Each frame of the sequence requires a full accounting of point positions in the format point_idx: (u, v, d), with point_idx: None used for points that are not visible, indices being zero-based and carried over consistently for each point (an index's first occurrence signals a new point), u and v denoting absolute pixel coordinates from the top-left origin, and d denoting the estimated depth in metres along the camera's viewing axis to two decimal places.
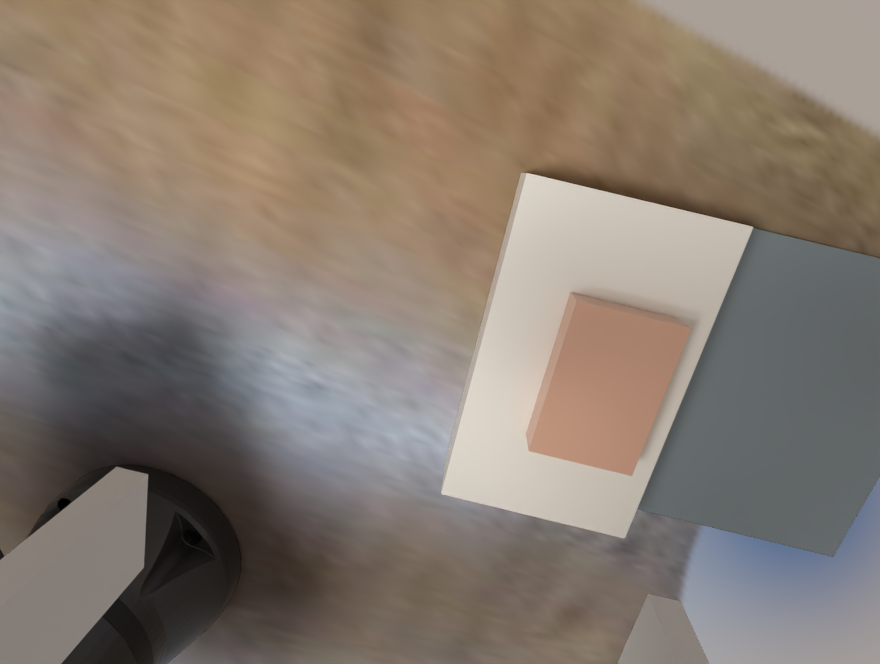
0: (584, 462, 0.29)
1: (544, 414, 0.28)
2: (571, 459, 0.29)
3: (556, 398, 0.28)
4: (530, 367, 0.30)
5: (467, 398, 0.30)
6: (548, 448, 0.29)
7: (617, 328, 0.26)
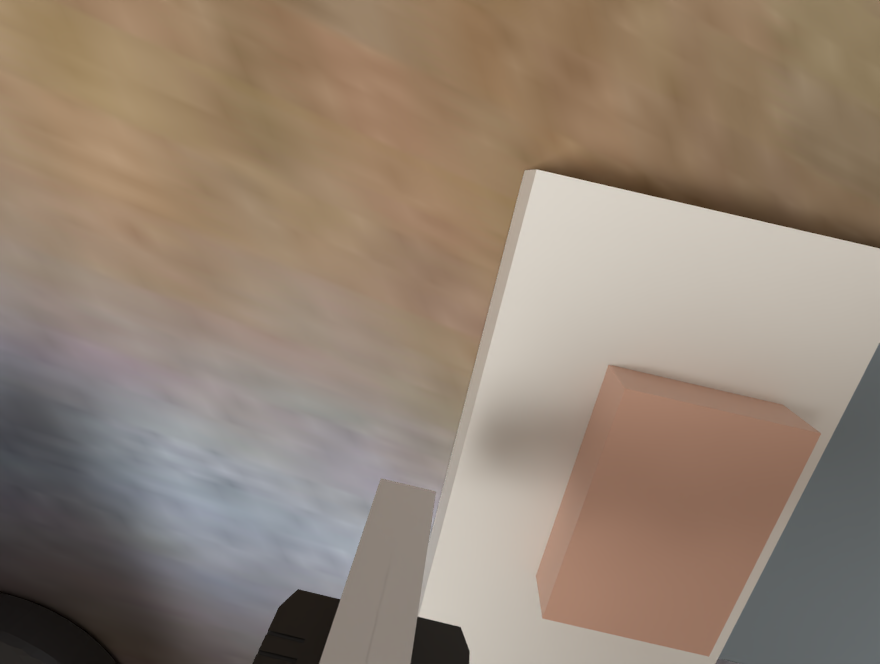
0: (632, 635, 0.18)
1: (568, 565, 0.17)
2: (611, 631, 0.18)
3: (587, 540, 0.17)
4: (543, 480, 0.19)
5: (444, 524, 0.19)
6: (574, 615, 0.18)
7: (693, 433, 0.16)
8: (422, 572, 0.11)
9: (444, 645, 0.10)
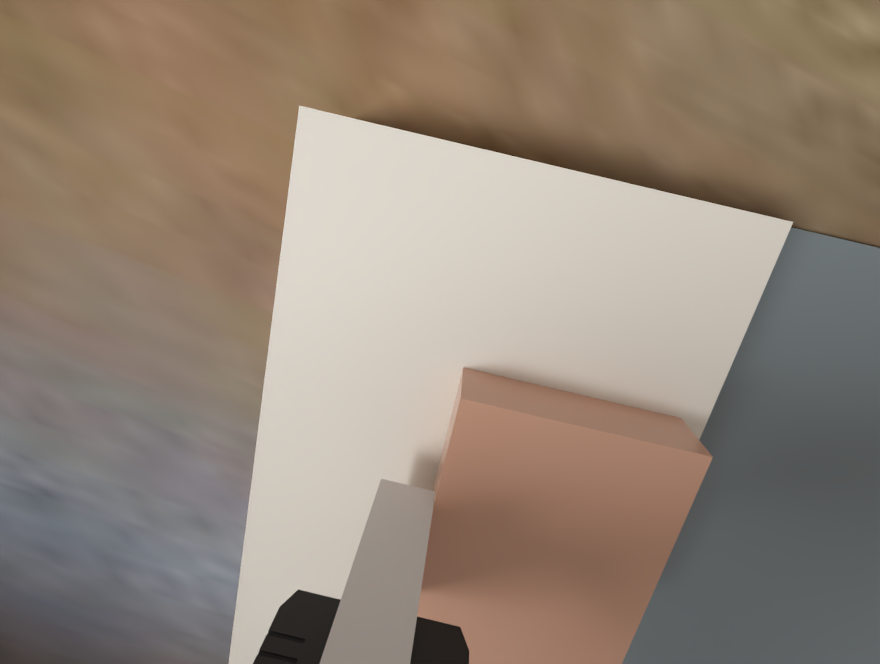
0: None
1: None
2: None
3: (434, 587, 0.14)
4: (354, 497, 0.15)
5: (245, 548, 0.16)
6: None
7: (552, 455, 0.12)
8: (422, 572, 0.11)
9: (444, 645, 0.10)
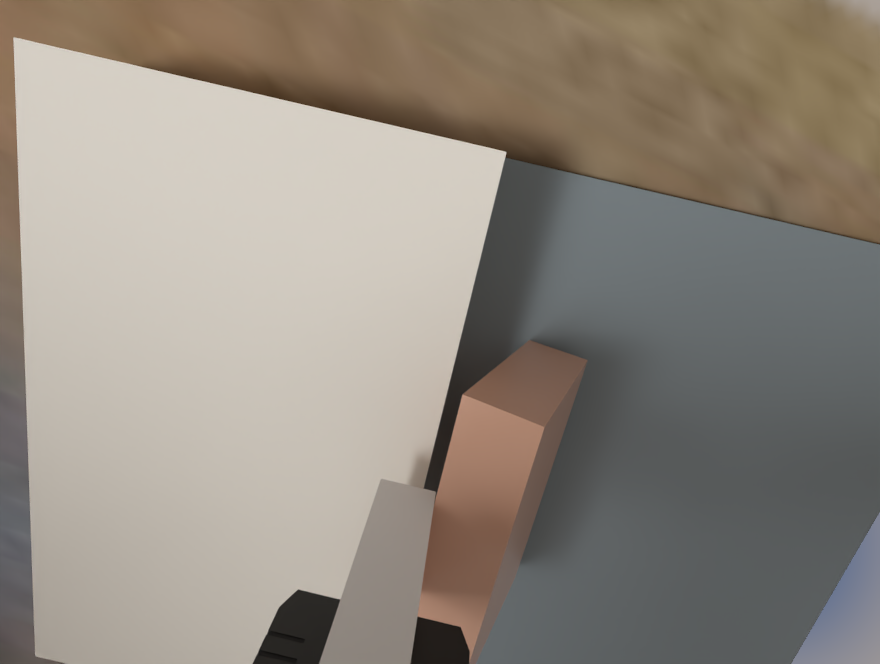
0: (492, 626, 0.17)
1: (476, 643, 0.13)
2: (484, 644, 0.16)
3: (491, 602, 0.13)
4: (128, 442, 0.15)
5: (32, 496, 0.16)
6: None
7: (556, 424, 0.14)
8: (422, 572, 0.11)
9: (444, 645, 0.10)
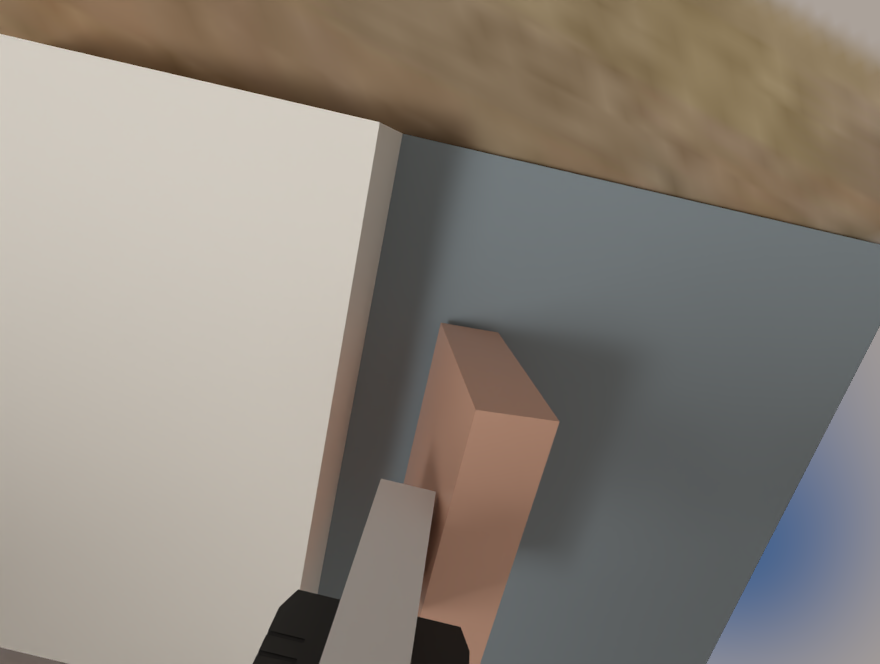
0: None
1: (486, 630, 0.14)
2: None
3: None
4: (28, 418, 0.15)
5: None
6: None
7: None
8: (422, 572, 0.11)
9: (444, 645, 0.10)
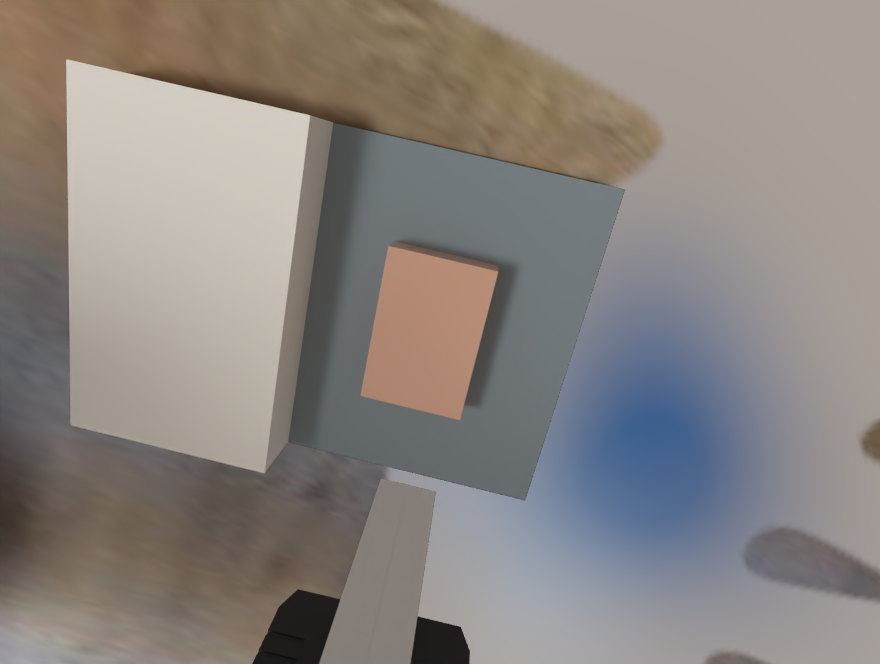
0: None
1: None
2: None
3: None
4: (124, 282, 0.27)
5: (70, 318, 0.28)
6: None
7: None
8: (422, 572, 0.11)
9: (444, 645, 0.10)
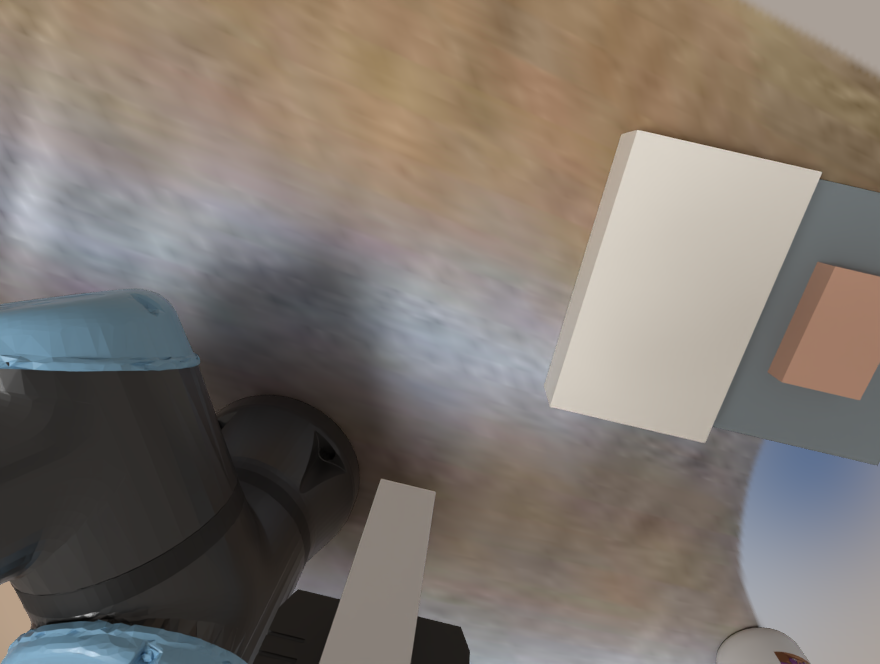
0: None
1: None
2: None
3: None
4: (632, 294, 0.36)
5: (577, 322, 0.37)
6: None
7: None
8: (422, 572, 0.11)
9: (444, 645, 0.10)
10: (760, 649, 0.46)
